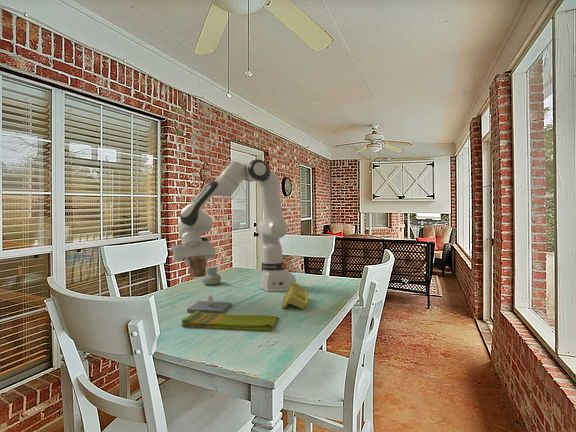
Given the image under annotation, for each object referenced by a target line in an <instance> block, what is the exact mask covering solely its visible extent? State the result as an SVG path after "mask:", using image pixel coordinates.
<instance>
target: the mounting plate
mask: <svg viewBox="0 0 576 432" xmlns="http://www.w3.org/2000/svg"><path fill="white" fill-rule="evenodd" d="M213 299H214V298H213V295H211V294H208V295H207V297H206V300H198V301H197V302H196V303H194V304H192V305H190V306H189V307H188V308H187V309H186V313H189V314H190V313H191V314H193V313H194V312H196V311H200V312H204V313H217V314H225V313H226V312H227V311H228V310H229V309H230V308H231V307H232V304H233V302H228V301H213Z"/></svg>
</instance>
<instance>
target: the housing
mask: <svg viewBox="0 0 576 432" xmlns="http://www.w3.org/2000/svg"><path fill="white" fill-rule="evenodd" d="M189 262H190V263H191V262H192V267H189V275H190V276H191V277H192V278H200V277H201V278H202V277H203V276H206V267H207V266H206V257H203V256H198V257H190V261H189Z"/></svg>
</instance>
